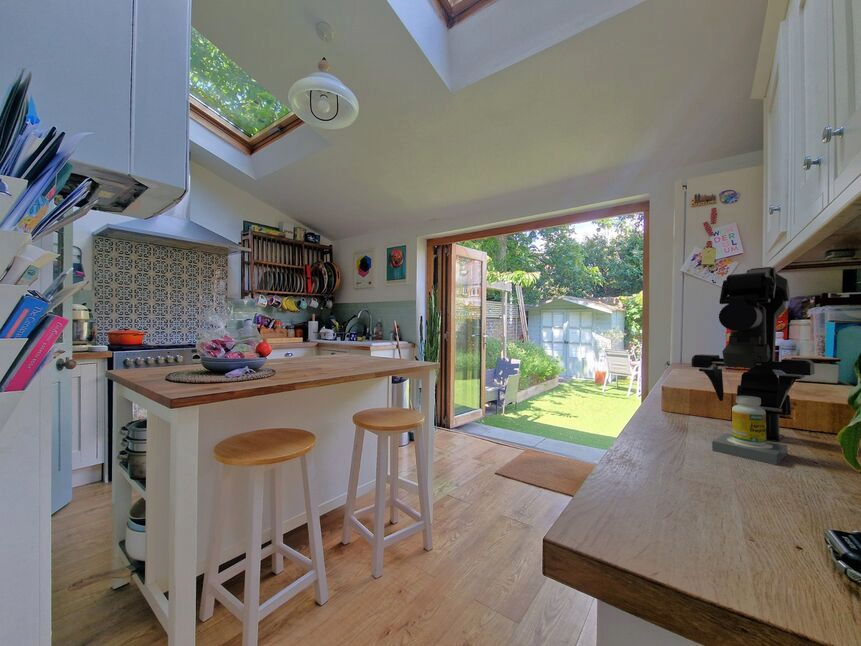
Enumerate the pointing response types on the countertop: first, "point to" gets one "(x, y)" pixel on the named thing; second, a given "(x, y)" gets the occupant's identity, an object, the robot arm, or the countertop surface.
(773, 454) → the slate base
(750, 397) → the supplement bottle
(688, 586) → the countertop surface
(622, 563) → the countertop surface
